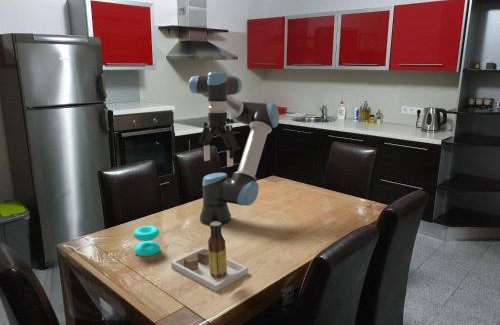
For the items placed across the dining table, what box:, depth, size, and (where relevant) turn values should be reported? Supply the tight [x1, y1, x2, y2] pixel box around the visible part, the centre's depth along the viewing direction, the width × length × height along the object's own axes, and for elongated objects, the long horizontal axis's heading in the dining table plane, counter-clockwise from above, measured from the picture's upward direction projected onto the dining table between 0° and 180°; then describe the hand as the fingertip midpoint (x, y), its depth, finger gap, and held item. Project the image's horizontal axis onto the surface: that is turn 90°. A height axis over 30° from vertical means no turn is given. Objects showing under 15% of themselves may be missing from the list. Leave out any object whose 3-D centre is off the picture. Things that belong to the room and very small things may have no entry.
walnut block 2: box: [197, 248, 209, 265], centre depth 149 cm, size 4×4×4 cm
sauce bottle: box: [207, 222, 227, 278], centre depth 138 cm, size 6×6×20 cm
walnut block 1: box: [184, 255, 198, 271], centre depth 144 cm, size 4×4×4 cm
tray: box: [170, 246, 249, 293], centre depth 143 cm, size 24×16×3 cm, turn 49°
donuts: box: [133, 225, 161, 257], centre depth 157 cm, size 10×10×10 cm
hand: (218, 163), depth 160 cm, fingers open, 13 cm apart
